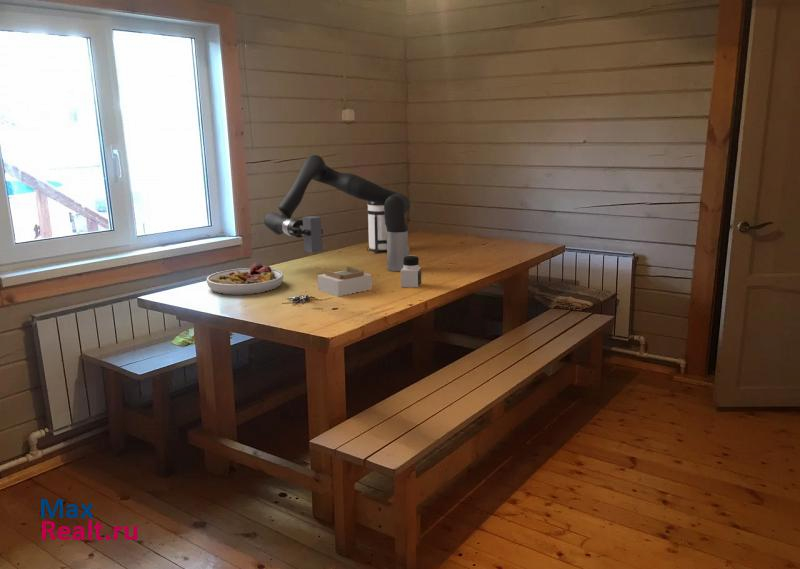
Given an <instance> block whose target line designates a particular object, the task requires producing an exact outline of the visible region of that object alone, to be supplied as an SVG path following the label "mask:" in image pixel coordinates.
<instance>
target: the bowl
mask: <svg viewBox="0 0 800 569" xmlns="http://www.w3.org/2000/svg"><path fill="white" fill-rule="evenodd" d="M283 280H284V273H283V272H282V271H281V270H278V269H273V268H271V267H270V266H269V265H265V266H263V265H262V263H260V262H255V263H253V264H252V265H251V266H250V267H245V268H244V267H243V268H242V267H241V268H233V269H227V270H223V271H218V272H215V273H214V272H213V273H212V274H209V276H207V277H206V283H207V286H208V287H209V289H210V290H212V291H213V292H215V293H217V292H218V294H221V293H223V294H222V295H227V294H232V295H231V296H244V295H243V294H249V295H255V294H254V293H257V294H262V293H261V292H263V293H266V292H265V291H267V292H270V291H273V290H275V289H277V288H279V286H280V285H282V283H283ZM272 289H273V290H272ZM269 290H270V291H269Z"/></svg>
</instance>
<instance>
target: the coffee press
mask: <svg viewBox="0 0 800 569" xmlns="http://www.w3.org/2000/svg"><path fill="white" fill-rule="evenodd" d="M366 205H367V223H368V224H367V228H368V232H367V233H368V245H367V247H366V250H367V251H368V250H369V251H370V250H374V254H379V251H387V227H386V225H385V215H384V206H383V205H381V204H379V203H376V202H371V201H367V202H366Z"/></svg>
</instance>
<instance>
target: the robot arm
mask: <svg viewBox="0 0 800 569" xmlns="http://www.w3.org/2000/svg"><path fill="white" fill-rule="evenodd" d="M312 180H313V181H316V182H318V183H322V184H325V185H329V186H331V187H334V189H337V190H339V191H341V192H343V193H346V194H348V195H349V196H351V197H354V198H356V199H358V200H363V201H367V202H368V201H371V202H376V203H379V204H381V205H383V206H384V215H385V225H386V227H387V250H386V252H387V253H386V254H387V255H386V257H387V259H386V261H387V268H386V269H387V270H388V271H390V270H391V271H392V272H401V269H402V268H403V267H404V260H403V258H404V257H405V256H411V252H410V250H411V248H410V247H409V243H408V242H409V240H408V239H409V238H408V237H409V236H408V235H409V232H408V229H409V228H408V224H407V223H406V219H405V214H406V213H407V212H408V211H409V210H410V207H411V201H410V199H409V198H408V197H407V196H406V194H403V193H400V192H396V191H393V190H390V189H388V188H384V187H382V186H380V185H378V184H377V183H374V182H372V181H370V180H368V179H366V178H364V177H361V176H360V175H358V174H353V173H349V172H348V173H346V172H341V171H337V170H335V169H333V168H331V167H329V166H328V165H327V164H326V162H325V160H324V159H323V158H322V157H321V156H320V155H318V154H313V155H310V156H309V157H308V158H307V159H306V160H305V161H304V163H303V165H302V167H301V169H300V171H299V173H298V175H297V177H296V179H295V181H294V182H293V184H292V186H291V188H290V189H289V191H288V192H287V194H285V196H284V198H283V199H282V200H281V202H280V203H279V205H278V207H277V208H278V210H279V212H280V213H281V214H279V213H276V212H270V213H267V214H266V215H265V216H264V218H263V224H264V226H265V227H266V228H268V229H269V230H270V231H272V232H273V233H274V234H276V235H280V236H281V235H282V234H283V235H287V236H289V237H294V238H297V239H300V238H304V235H307V236H311V231H310V230H305V229H303V219H299V218H298V219H297V218H293V217H292V216H293V214H294V212H295V211H296V210H297V208H298V207H299V205H300V204H301V202H302V199H303V198H304V196H305V192H306V190H307V188H308V185H309V184H310V183H311V181H312ZM321 230H322V235H323V234H324V231H323V229H322V228H321ZM391 271H390V272H391Z"/></svg>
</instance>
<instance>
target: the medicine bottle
mask: <svg viewBox="0 0 800 569" xmlns="http://www.w3.org/2000/svg"><path fill="white" fill-rule="evenodd" d="M419 259H420V258H419V256H416V255H411V254H410V256H405V257H404V258H403V260H404V267H403V268H402V269H401V271H400V287H401V288H412V287H418V288H419V287H420V286H421V285H420V284H422V266H419V264H420V262H419Z"/></svg>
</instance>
